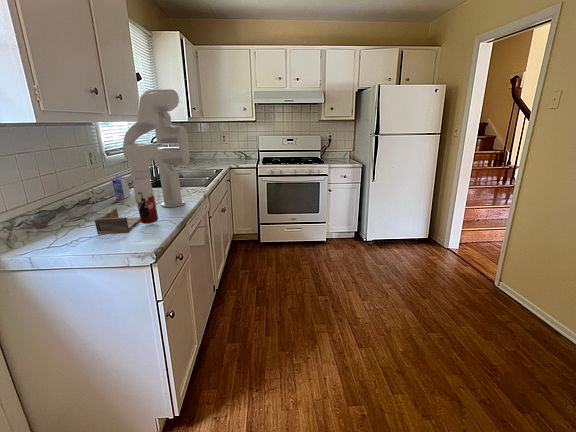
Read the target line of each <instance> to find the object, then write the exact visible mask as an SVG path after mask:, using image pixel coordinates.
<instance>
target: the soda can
mask: <svg viewBox="0 0 576 432" xmlns="http://www.w3.org/2000/svg"><path fill="white" fill-rule="evenodd" d="M142 201H145V199H144V198H142ZM136 203H137V210H138V215H139V217H140V220H141V222H140V223H142V224H143V225H148V224H149V225H150V224H155V223H156V222H157V221H159V216H158V209H157V204H156V198H155V195H154V193H153V194H152V195H151V196H150V197H149V198H148V201H147V207H148V211H149V216H148V217H142V216H141V212H140V208H139V204H138V202H136ZM142 203H144V205H145V202H142Z"/></svg>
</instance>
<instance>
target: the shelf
mask: <svg viewBox="0 0 576 432" xmlns="http://www.w3.org/2000/svg"><path fill="white" fill-rule="evenodd" d="M140 223H142V222H141V220H140V216H139V217H138V216H136V217H135V216H134V217H126V216H123V217H119V213H118V208H116V207H115V208H114V207H113V208H112V209H110V210H109V211H106V212H105V213H104V214H102V215H100V216H98V217H96V218H95V219H94V224H95V227H96V228H95V229H96V233H97V235H98V236H100V235H101V236H102V235H116V234H128V233H130V232H131V231H132V230H133V229H134V228H135V227H136V226H137V225H138V224H140Z"/></svg>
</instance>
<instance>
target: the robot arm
mask: <svg viewBox="0 0 576 432" xmlns="http://www.w3.org/2000/svg"><path fill="white" fill-rule="evenodd" d="M179 103H180V97H179V94H178V92H177V91H176V90H175V89H173V88H170V89H168V88H167V89H147V90H144V91H143V92H142V93H141V95H140V96H139V99H138V105H137V106H138V107H137V116H136V117H137V119H136V122H134V123H133V124H132V125H131V126H130V127H129V129H128V130H127V131H126V132H125V134H124V136H123V144H122V154H123V156H124V158H125V159H126V160H127V161H128V164H129V169H130V175H131V179H132V180H133V181H132V184H133V186H132V187H133V193H134V201H135V202H136V203H137V202H138V204H139V208H140V212H141V216H142V217H148V216H149V211H148V207H147V201H148V198H149V197H150V196H151V195H152V194H153V195H154V191H153V185H152V182H151V178H152V175H151V169H150V168H151V167H150V163H149V161H154V160H155V161H156V165H157V167H158V172H159V177H160V178H159V179H160V185H161V190H162V198H163V202H162V203H160V204H161V207H163V208H175V207H181V206H183V205H185V204H186V201H185V200H183V199H182V198H183V197H182V190H181V184H180V177H179V171H178V170H177V169H176V168H175V167H174V166H184V165H188V164H189V163H190V161H191V160H190V158H191V157H190V156H191V155H190V147H189V138H188V132H187V130H186V128H185V127H184V126H183V125H172V124H173V123H172V117H171V115H170V113H169V112H171V111H173V110H175V109H176V108H177V107H178V106H179ZM152 131H154V134H155V138H156V139H155V140H156V142H157V143H158V144H159V145H165V147H164V146H163V147H158V146H157V145H156V143H152V142H136V140H137V139H139V138H140V137H141V136H143V135H145V134H149V133H150V132H152ZM166 145H167V147H166ZM168 145H178V146H168ZM142 198H144V199H145V201H142ZM142 202H145V205H144V203H142ZM138 204H137V205H138Z"/></svg>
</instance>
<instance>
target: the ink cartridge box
mask: <svg viewBox="0 0 576 432" xmlns="http://www.w3.org/2000/svg"><path fill="white" fill-rule="evenodd" d="M114 176H115V179H113V180H111V182H112V186H113V190H114V194H115V199H116V200H125V199H127V198H129V197H130V196H131V193H130V192H131V191H130V187H129V182H128V178H127V177H126V176H121V177H120V175H118V174H114Z"/></svg>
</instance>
